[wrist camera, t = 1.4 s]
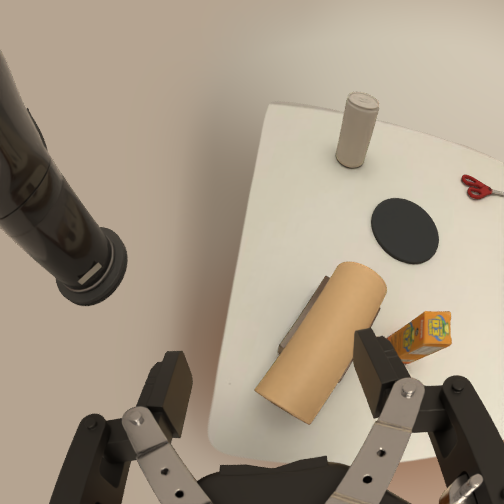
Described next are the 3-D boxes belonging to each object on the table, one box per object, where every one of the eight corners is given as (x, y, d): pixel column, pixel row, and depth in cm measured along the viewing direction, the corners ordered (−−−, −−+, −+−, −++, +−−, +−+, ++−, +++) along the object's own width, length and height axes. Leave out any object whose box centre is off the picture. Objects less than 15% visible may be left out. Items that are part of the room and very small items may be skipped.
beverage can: (336, 147, 46) (347, 88, 36) (363, 153, 46) (378, 96, 35) (334, 166, 44) (347, 103, 34) (363, 172, 43) (381, 111, 33)
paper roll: (254, 391, 25) (252, 389, 20) (331, 278, 30) (344, 252, 25) (304, 422, 23) (314, 427, 18) (375, 304, 29) (396, 283, 24)
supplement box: (385, 335, 31) (425, 307, 22) (410, 338, 30) (454, 310, 21) (382, 363, 29) (425, 343, 20) (408, 365, 29) (455, 345, 20)
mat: (359, 237, 37) (360, 235, 37) (385, 189, 42) (386, 186, 41) (426, 278, 34) (428, 276, 33) (443, 223, 38) (444, 221, 38)
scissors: (459, 176, 43) (461, 172, 42) (504, 187, 42) (506, 184, 41) (469, 198, 40) (471, 195, 39) (514, 207, 39) (516, 204, 38)
